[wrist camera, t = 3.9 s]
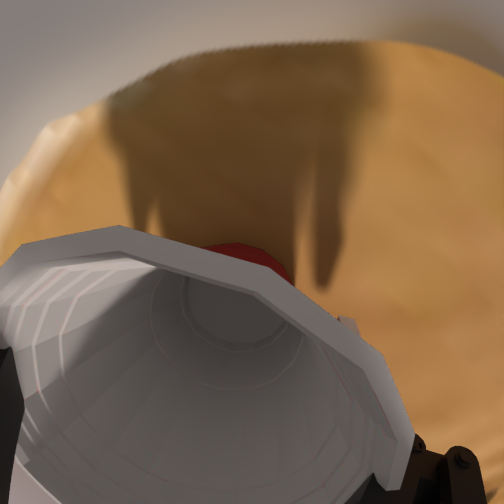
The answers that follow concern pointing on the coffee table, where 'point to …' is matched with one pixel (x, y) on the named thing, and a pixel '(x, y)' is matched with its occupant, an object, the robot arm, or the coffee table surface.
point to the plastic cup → (190, 377)
